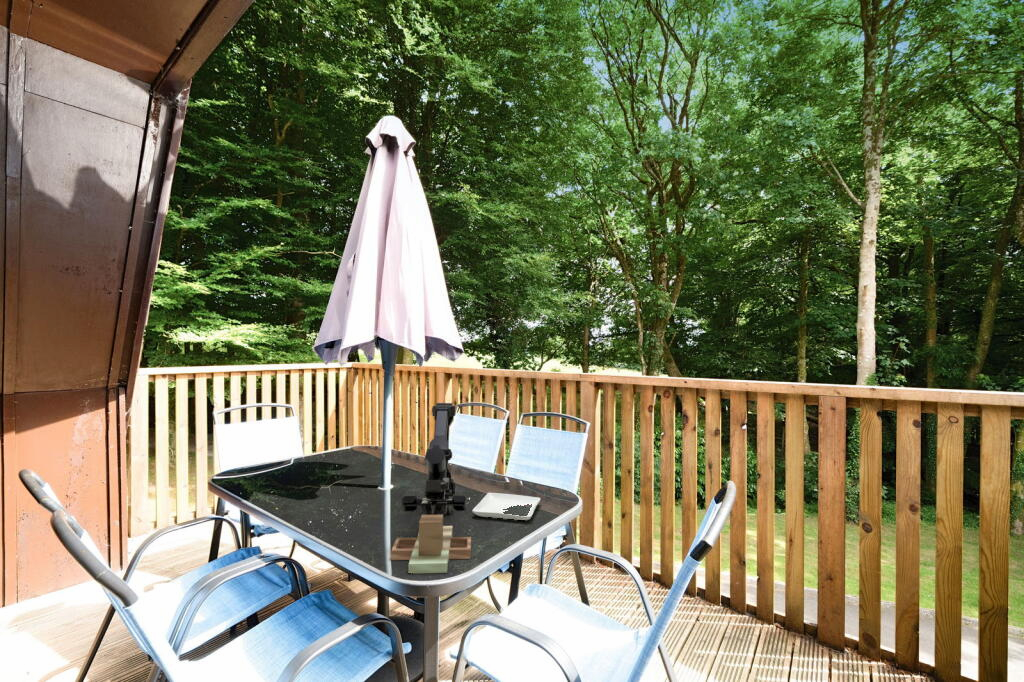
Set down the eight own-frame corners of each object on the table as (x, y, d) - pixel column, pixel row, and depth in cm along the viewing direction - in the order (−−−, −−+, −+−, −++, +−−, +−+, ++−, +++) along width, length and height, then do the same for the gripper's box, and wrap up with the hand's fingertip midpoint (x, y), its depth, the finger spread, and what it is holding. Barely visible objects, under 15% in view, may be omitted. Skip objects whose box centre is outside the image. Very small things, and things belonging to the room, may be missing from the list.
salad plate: (530, 526, 156) (530, 515, 156) (470, 519, 161) (471, 509, 161) (541, 505, 176) (541, 496, 176) (488, 500, 181) (488, 492, 181)
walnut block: (421, 546, 131) (421, 514, 131) (442, 546, 132) (443, 514, 132) (418, 555, 125) (419, 522, 125) (440, 555, 126) (441, 522, 126)
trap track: (401, 534, 146) (401, 526, 146) (471, 533, 148) (471, 525, 148) (385, 574, 120) (385, 564, 120) (469, 572, 122) (469, 562, 122)
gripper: (403, 467, 137) (396, 518, 126) (466, 467, 138) (464, 517, 127) (406, 486, 145) (400, 536, 133) (466, 486, 146) (465, 535, 135)
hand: (432, 531), depth 132 cm, fingers closed, pressing on walnut block
